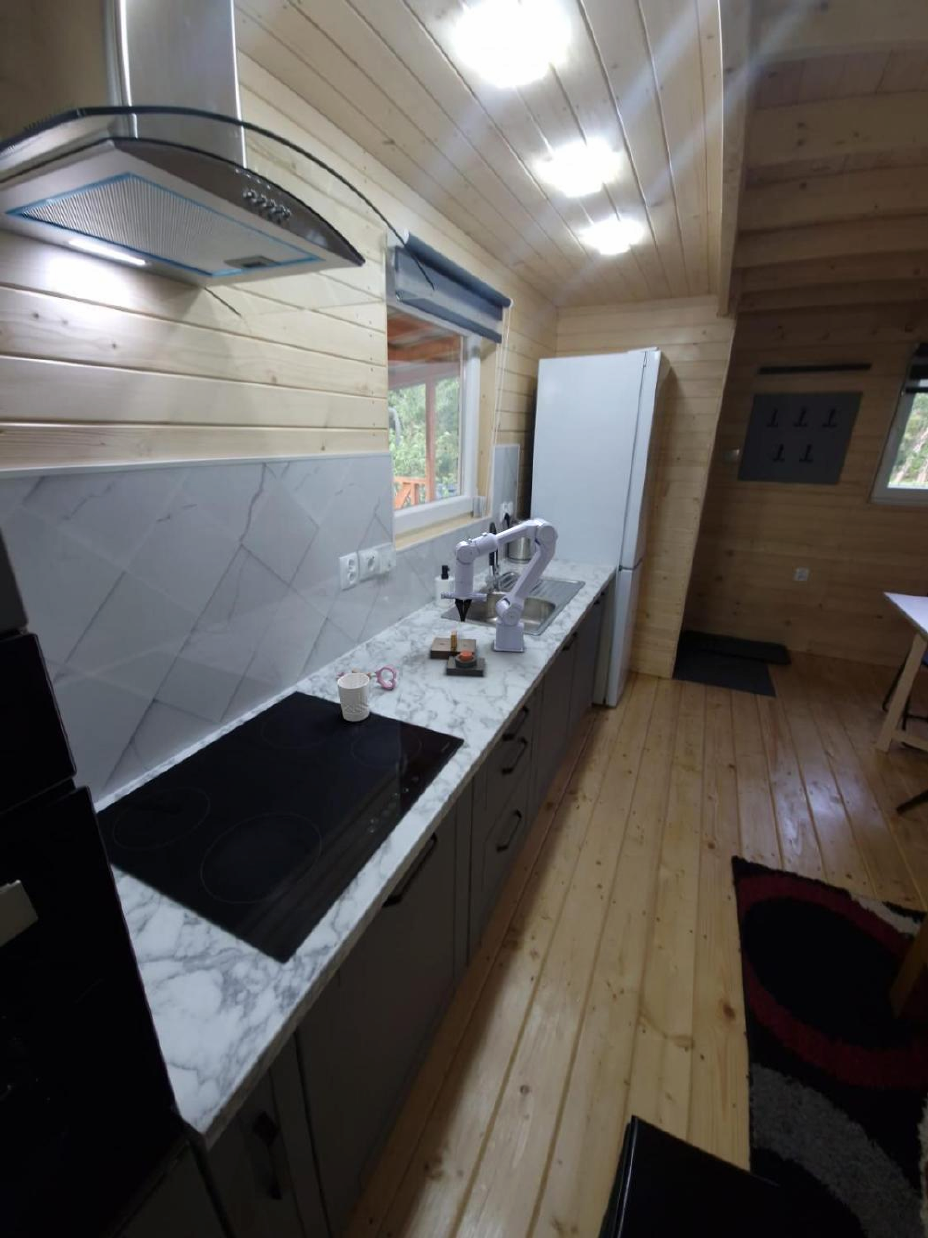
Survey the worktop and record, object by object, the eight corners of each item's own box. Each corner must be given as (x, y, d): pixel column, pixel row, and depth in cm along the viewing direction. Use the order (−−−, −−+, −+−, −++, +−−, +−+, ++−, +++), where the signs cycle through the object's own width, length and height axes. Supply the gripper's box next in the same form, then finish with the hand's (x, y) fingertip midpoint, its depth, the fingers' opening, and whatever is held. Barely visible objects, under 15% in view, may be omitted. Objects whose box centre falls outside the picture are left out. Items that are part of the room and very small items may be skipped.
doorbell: (484, 664, 155) (484, 652, 153) (483, 676, 147) (483, 664, 146) (449, 662, 156) (449, 651, 154) (446, 674, 148) (446, 662, 147)
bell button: (472, 656, 152) (472, 651, 151) (471, 661, 148) (471, 656, 148) (460, 655, 152) (460, 650, 151) (459, 661, 149) (459, 655, 148)
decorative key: (339, 685, 147) (399, 687, 140) (337, 687, 146) (397, 689, 139) (334, 664, 145) (395, 665, 138) (332, 666, 144) (393, 667, 137)
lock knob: (452, 641, 163) (452, 629, 161) (456, 641, 163) (457, 629, 161) (450, 647, 159) (450, 635, 157) (455, 647, 159) (455, 635, 157)
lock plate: (476, 647, 166) (476, 638, 165) (473, 660, 157) (474, 651, 156) (434, 645, 167) (434, 636, 166) (430, 658, 158) (430, 649, 157)
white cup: (377, 714, 128) (375, 680, 124) (352, 727, 123) (349, 691, 119) (359, 702, 133) (357, 669, 129) (334, 714, 127) (331, 680, 124)
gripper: (439, 583, 152) (439, 623, 157) (486, 585, 151) (484, 626, 156) (442, 576, 159) (442, 615, 164) (487, 578, 158) (485, 618, 163)
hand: (462, 620), depth 161 cm, fingers closed
